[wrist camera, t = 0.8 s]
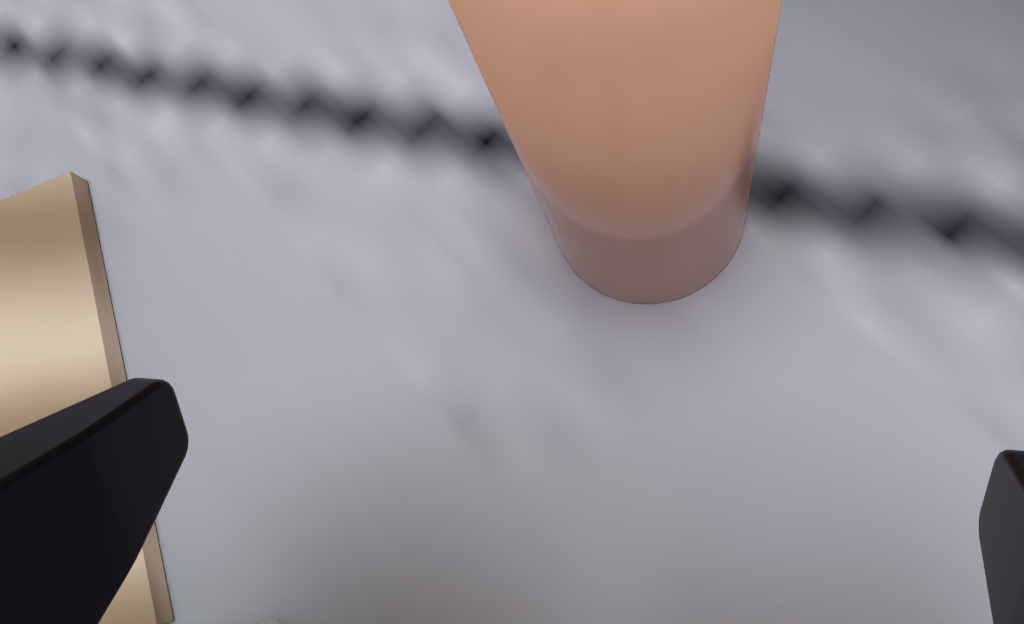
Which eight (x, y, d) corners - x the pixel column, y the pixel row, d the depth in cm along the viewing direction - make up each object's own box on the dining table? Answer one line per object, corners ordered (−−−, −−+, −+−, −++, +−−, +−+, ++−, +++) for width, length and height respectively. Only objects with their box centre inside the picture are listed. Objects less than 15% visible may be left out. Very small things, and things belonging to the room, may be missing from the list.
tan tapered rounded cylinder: (776, 261, 23) (869, -39, 11) (591, 332, 23) (488, 117, 11) (701, 98, 24) (711, -318, 13) (529, 168, 25) (382, -170, 13)
